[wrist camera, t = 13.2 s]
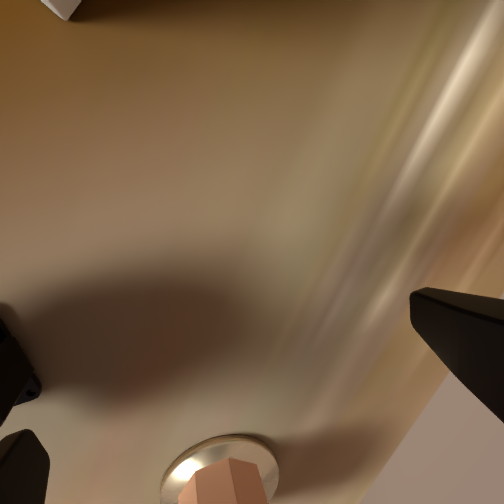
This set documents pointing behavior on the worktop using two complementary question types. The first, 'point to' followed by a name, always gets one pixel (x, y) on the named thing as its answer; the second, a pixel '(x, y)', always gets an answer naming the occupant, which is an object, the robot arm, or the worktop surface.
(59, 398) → the worktop surface
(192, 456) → the silver pot lid
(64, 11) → the milk carton
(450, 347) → the robot arm
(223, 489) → the terracotta pot
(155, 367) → the worktop surface
